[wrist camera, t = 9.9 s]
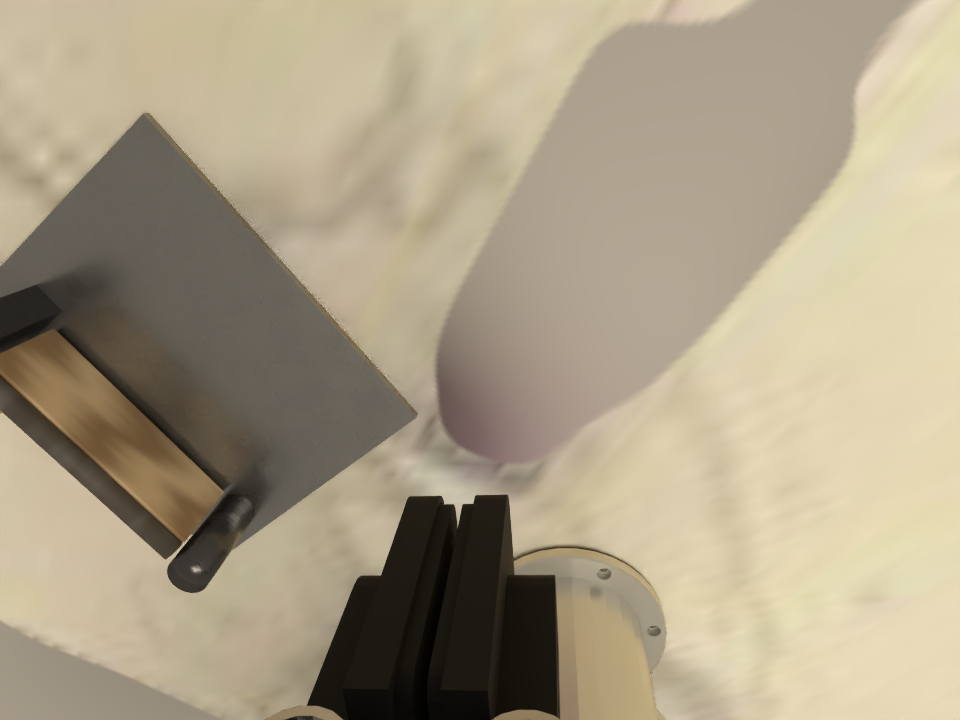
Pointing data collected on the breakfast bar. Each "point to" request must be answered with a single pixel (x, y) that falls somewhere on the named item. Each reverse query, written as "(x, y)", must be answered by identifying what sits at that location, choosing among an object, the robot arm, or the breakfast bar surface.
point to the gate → (104, 441)
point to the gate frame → (199, 337)
